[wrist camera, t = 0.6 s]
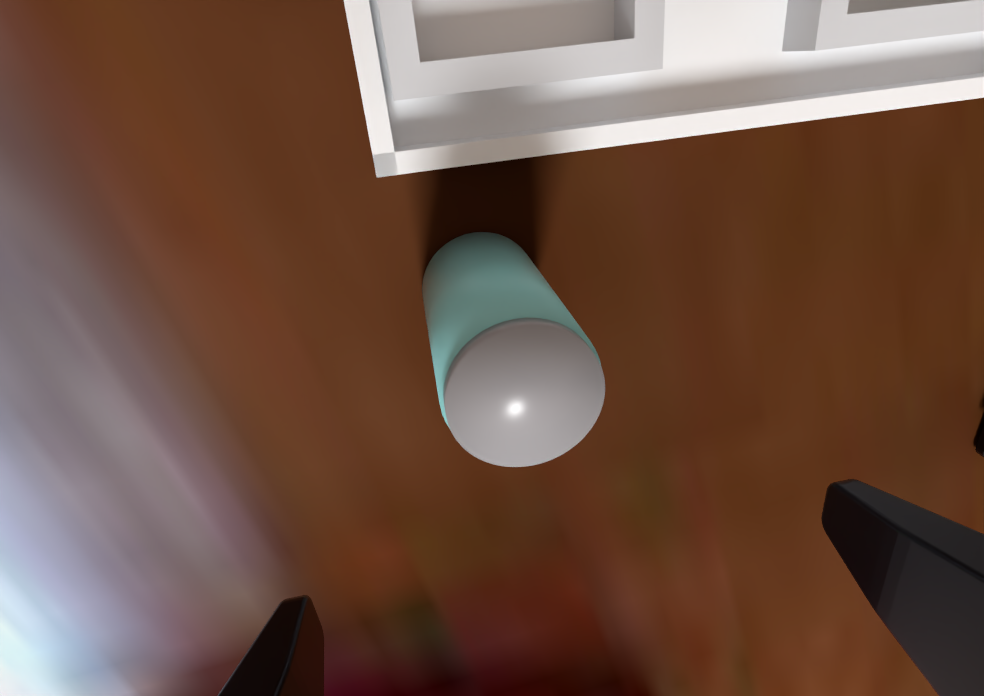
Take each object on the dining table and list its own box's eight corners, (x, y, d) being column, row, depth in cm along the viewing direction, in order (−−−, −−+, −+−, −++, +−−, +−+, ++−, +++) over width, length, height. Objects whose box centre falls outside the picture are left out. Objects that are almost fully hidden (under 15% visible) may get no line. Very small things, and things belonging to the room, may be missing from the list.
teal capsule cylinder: (532, 223, 19) (608, 309, 13) (539, 331, 21) (609, 454, 15) (413, 241, 19) (428, 338, 12) (431, 348, 21) (452, 483, 14)
